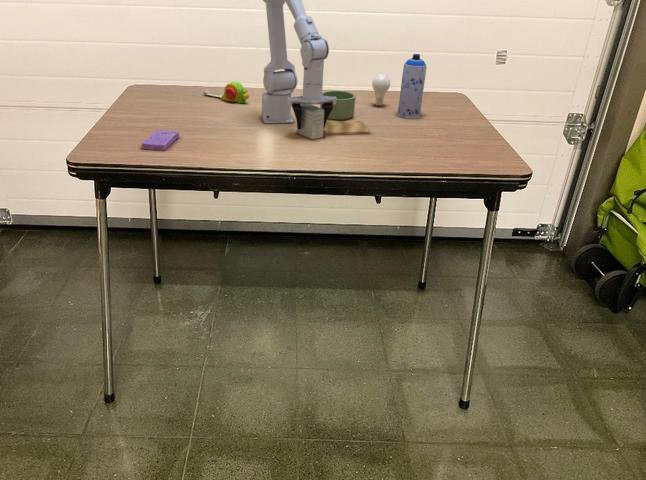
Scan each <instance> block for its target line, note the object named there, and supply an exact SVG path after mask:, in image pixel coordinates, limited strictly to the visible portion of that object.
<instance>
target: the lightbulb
mask: <svg viewBox="0 0 646 480" xmlns="http://www.w3.org/2000/svg"><path fill="white" fill-rule="evenodd" d="M371 85H372V86H371V87H372V89H373V91H374V95H375V103H374V104H375V105H376V106H377V107H381V106H383V105H384V98H385V96H386V94H387V92H388V90H389V89H390V88H391V79H390V77H389V76H388V75H386V74H384V73H379V74H377V75H375V76H374V77H373V79H372V82H371Z"/></svg>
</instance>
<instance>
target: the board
mask: <svg viewBox="0 0 646 480" xmlns="http://www.w3.org/2000/svg"><path fill="white" fill-rule="evenodd" d="M370 133H371V131H370V130H369V129H368V127H366V125H365V124H364V123H363V122H362V121H361V120H333V121H326V124H325V128H324V129H323V134H325V136H337V135H338V136H339V135H341V136H342V135H343V136H344V135H370Z"/></svg>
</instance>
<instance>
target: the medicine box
mask: <svg viewBox="0 0 646 480" xmlns="http://www.w3.org/2000/svg"><path fill="white" fill-rule="evenodd" d="M301 108H302V113H301V129H298V128H297V127H296V133H297V134H299V135H302V136H304V137H306V138H308V139H311V140H317V139H322V138H323V137H324V131H323V126H324V109H321V108H320V106H317V105H315V104H307V105H301Z"/></svg>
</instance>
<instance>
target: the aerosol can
mask: <svg viewBox="0 0 646 480" xmlns="http://www.w3.org/2000/svg"><path fill="white" fill-rule="evenodd" d="M426 74H427V63H426V62H425V61H424V60H423V59H422V58H421V54H420V53H413V55H412V57H410V58H408V59H407V60H406V61H405V62H404V63H403V69H402V76H401V85H400V91H399V92H400V93H399V98H398V99H399V100H398V102H399V103H398V109H397V114H396V115H397V116H398V117H399V118H402V119H407V120H408V119H409V120H410V119H411V120H413V119H414V120H415V119H420V118H421V110H422V104H423V96H424V88H425V83H426Z"/></svg>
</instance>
